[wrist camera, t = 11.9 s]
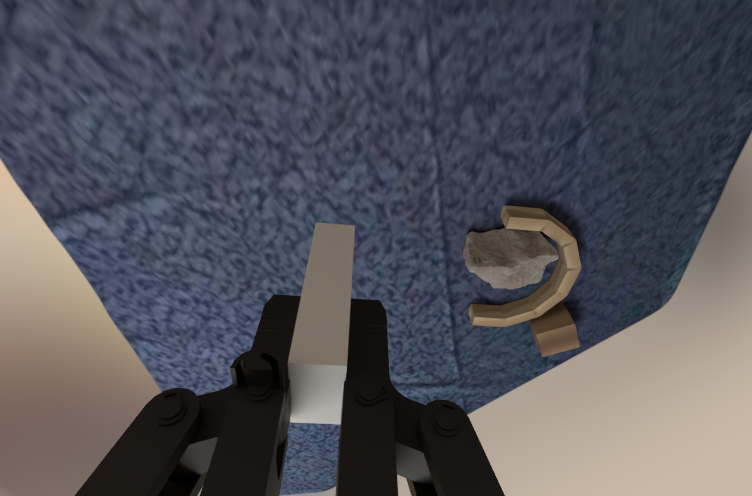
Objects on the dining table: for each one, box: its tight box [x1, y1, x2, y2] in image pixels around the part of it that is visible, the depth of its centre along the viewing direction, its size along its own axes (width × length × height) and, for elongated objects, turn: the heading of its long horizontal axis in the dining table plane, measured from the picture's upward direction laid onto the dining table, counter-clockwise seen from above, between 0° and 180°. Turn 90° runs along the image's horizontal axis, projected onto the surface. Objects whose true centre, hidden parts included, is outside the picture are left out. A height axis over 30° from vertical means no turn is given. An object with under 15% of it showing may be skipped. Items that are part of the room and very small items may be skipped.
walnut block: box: [529, 303, 580, 357], centre depth 55 cm, size 5×5×4 cm
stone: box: [463, 227, 559, 289], centre depth 47 cm, size 8×10×6 cm
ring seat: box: [468, 205, 581, 327], centre depth 50 cm, size 17×11×2 cm, turn 174°
